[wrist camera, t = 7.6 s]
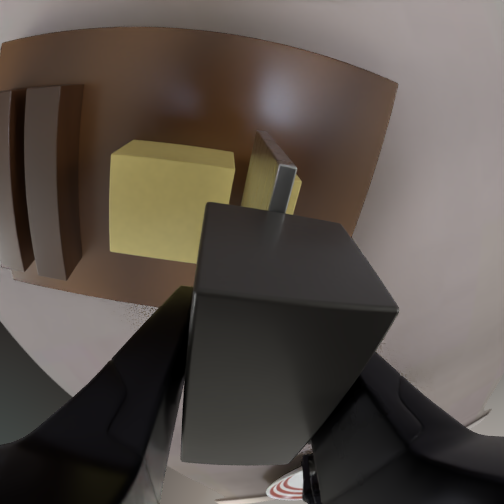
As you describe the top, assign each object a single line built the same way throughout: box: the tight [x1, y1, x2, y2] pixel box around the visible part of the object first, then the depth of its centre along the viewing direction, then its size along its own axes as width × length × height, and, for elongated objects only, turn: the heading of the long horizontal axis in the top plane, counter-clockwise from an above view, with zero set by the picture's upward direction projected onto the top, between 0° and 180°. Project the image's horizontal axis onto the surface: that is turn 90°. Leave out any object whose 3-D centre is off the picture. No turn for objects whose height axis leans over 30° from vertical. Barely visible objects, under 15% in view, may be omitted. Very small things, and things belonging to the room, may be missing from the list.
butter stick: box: [109, 140, 235, 264], centre depth 14 cm, size 5×4×3 cm
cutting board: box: [0, 27, 398, 307], centre depth 14 cm, size 22×16×4 cm
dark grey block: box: [181, 131, 399, 465], centre depth 9 cm, size 3×8×8 cm, turn 169°
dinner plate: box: [266, 466, 303, 500], centre depth 41 cm, size 27×27×3 cm
